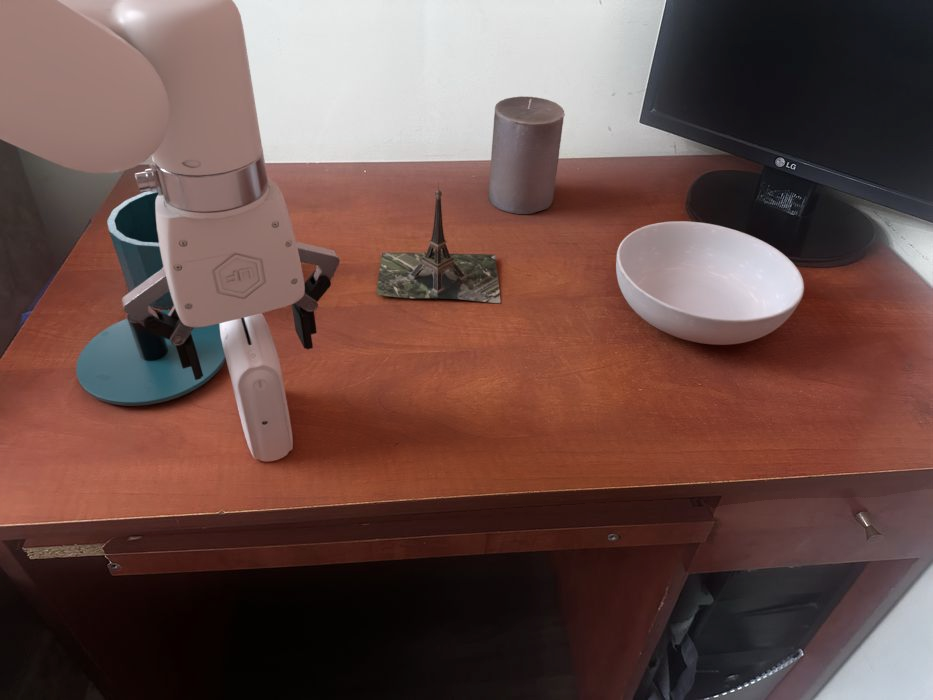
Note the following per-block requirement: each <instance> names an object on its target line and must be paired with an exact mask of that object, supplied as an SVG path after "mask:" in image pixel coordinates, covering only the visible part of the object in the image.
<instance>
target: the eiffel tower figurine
mask: <svg viewBox="0 0 933 700" xmlns="http://www.w3.org/2000/svg"><path fill="white" fill-rule="evenodd" d="M434 196H435V207H434V216H433V217H434V218H433V226H432V235H431V239H430V240H429V245H428V247H427V250H426V252H382V253H381V258H380V263H379V264H380V265H379V271H378V279H377V287H376V288H377V289H376V293H375V295H376V296H384V297H392V298H403V299H435V300H439V299H450V300H462V301H463V300H464V301H473V302H483V303H490V304H491V303H492V304H502V301H501V292H500V291H501V290H500V282H499V275H498V268H497V258H496V254H491V253H490V254H489V253H488V254H487V253H452V252H451V253H450V252H449V248H448V246H447V240H446V239H445V234H444V233H445V232H444V225H443V212H442V210H443V209H442V196H443V194H442V191H441V190H440V182H437V190H436V191H435V193H434Z"/></svg>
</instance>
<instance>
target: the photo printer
mask: <svg viewBox="0 0 933 700" xmlns="http://www.w3.org/2000/svg"><path fill="white" fill-rule="evenodd" d="M220 335H221V340H222V345H223V350H224V354H225V358H226V360H225V362H226V365H227V370H228V373H229V377H230V381H231V385H232V389H233V393H234V397H235V398H234V399H235V402H236V405H237V410H238V414H239V418H240V423H241V427H242V431H243V434H244V438H245V441H246V443H247V447H248V449H249V451H250V453H251V456H252V457H253V459H254V460H259V461H261V462H268V463H269V462H275V461H278V460H280V459H283V458H284V457H286V456H287V455H289V452H290V451H293V448H294V447H293V446H294V441H293V439H294V437H293V431H292V430H293V429H292V424H291V418H290V412H289V406H288V401H287V396H286V395H287V394H286V390H285V384H284V380H283V379H284V378H283V374H282V368H281V364H280V358H279V355H278V351H277V348H276V344H275V341H274V338H273V335H272V332H271V330H270V327H269V324H268V322H267V320H266V318H265V316H264V315H263V313H260V314H256V315H252V316H248V317H244V318H240V319H236V320H232V321H228V322H224V323H220Z"/></svg>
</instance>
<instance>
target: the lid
mask: <svg viewBox="0 0 933 700" xmlns="http://www.w3.org/2000/svg"><path fill="white" fill-rule="evenodd" d="M150 308H152V309H155V307H152V306H150ZM159 311H160V312H162V313H164V314H167V315H168V314H169V312H170V311H171V309H165V310H164V309H163V310H159ZM191 335H192V338H193V341H194V344H195V348H196V351H197V355H198V358H199V362H200V366H201V369H202V373H203V377H201V379H198V380H195V377H194V374H193V371H192V368H191V367H188V368H184V369H183V368H182V365H181V361H180V358H179V355H178V351H177V348H176V345H173V344H172V343H171V342H170V340H169V339H166V338H164V337H161V336H159V335H156V334H154V333H151V332H149V331H147V330H146V329H145V327H144V326H143V325H142V324H141V323H138V322H137V321H136V320H134V319H133V318H132V317H131V316H129V315H128V314H127V315H126V318H125V319H122V320H120V321H117V322H116V323H114V324H111V325H110V326H108V327H106V328H105V329H104V330H101V331H100V332H99V333H98V334H97V335H95V336H94V337H93V338H92V339H90V340H89V341H88V342H87V344H85V346H84V347H83V349H82V350H81V352H80V353H79V355H78V358H77V360H76V365H75V366H76V367H75V372H76V377H77V381H78V383H79V385H80V386H81V387H82V389H83V390H84V391H85V392H86V393H88V395H90V396H91V397H93V398H94V399H96V400H99V401H102V402H104V403H107V404H112V405H117V406H125V407H129V406H131V407H132V406H133V407H138V406H149V405H155V404H160V403H164V402H169V401H171V400H174V399H177V398H180V397H182V396H185V395H187V394H189V393H191V392H193V391H195V390H197V389H199V388H200V387H202V386H203V385H204V384H206V383H207V382H208V381H210V380H211V379H212V378H213V377H214V376H215V375H217V374H218V372H219V371H220V370H221V368H222V367H223V366H224V364H225V363H226V358H225V354H224V350H223V345H222V340H221V335H220V324H215V325H211V326H206V327H194V329H193V330H192V332H191Z"/></svg>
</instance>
